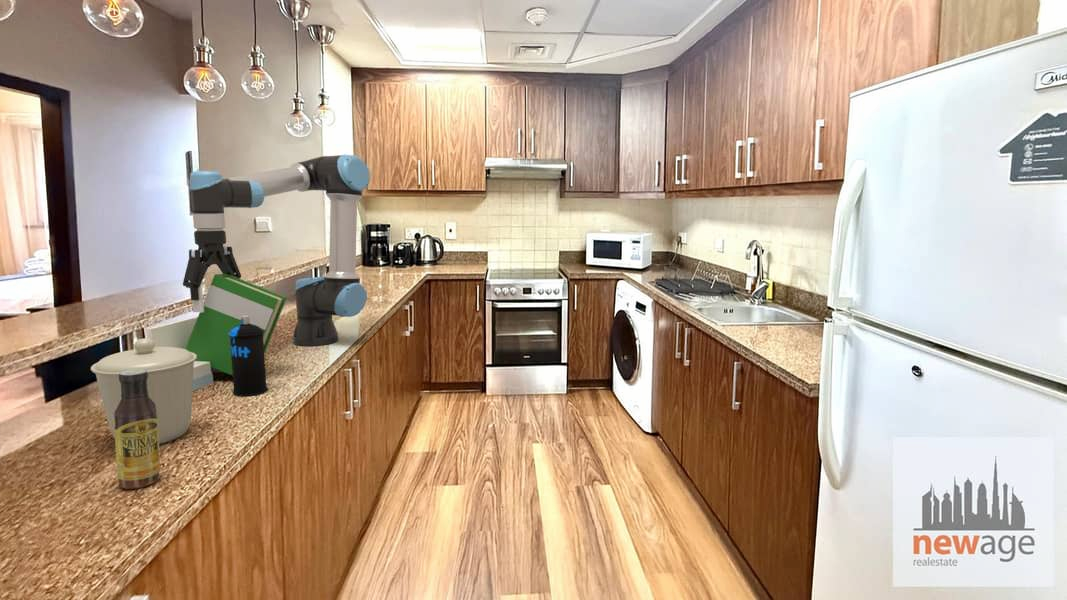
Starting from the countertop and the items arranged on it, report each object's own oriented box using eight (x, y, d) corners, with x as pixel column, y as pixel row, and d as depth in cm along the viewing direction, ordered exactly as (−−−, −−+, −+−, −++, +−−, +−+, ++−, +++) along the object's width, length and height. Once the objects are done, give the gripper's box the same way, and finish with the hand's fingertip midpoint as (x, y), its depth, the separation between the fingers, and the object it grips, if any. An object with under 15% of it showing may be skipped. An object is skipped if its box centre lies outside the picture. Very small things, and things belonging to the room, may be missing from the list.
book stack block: (178, 380, 163) (176, 359, 162) (213, 382, 161) (211, 361, 160) (154, 389, 155) (151, 367, 154) (190, 392, 153) (188, 369, 152)
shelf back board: (204, 369, 175) (199, 315, 172) (207, 369, 175) (203, 315, 172) (152, 388, 156) (147, 328, 154) (156, 388, 156) (151, 328, 154)
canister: (222, 426, 130) (215, 332, 126) (152, 460, 112) (142, 351, 109) (154, 419, 134) (145, 327, 130) (76, 450, 116) (63, 346, 113)
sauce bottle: (124, 494, 99) (111, 379, 96) (114, 483, 103) (101, 372, 100) (168, 481, 103) (157, 371, 100) (156, 471, 108) (146, 365, 104)
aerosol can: (257, 385, 159) (251, 312, 156) (274, 390, 155) (269, 315, 152) (226, 392, 153) (220, 316, 150) (243, 398, 148) (237, 320, 145)
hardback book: (255, 374, 169) (286, 297, 168) (245, 380, 162) (277, 299, 161) (196, 351, 168) (227, 273, 167) (182, 356, 160) (214, 274, 160)
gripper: (228, 228, 172) (233, 300, 176) (161, 231, 148) (169, 315, 152) (251, 228, 171) (256, 301, 174) (188, 231, 147) (195, 316, 150)
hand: (215, 308), depth 163 cm, fingers open, 12 cm apart
